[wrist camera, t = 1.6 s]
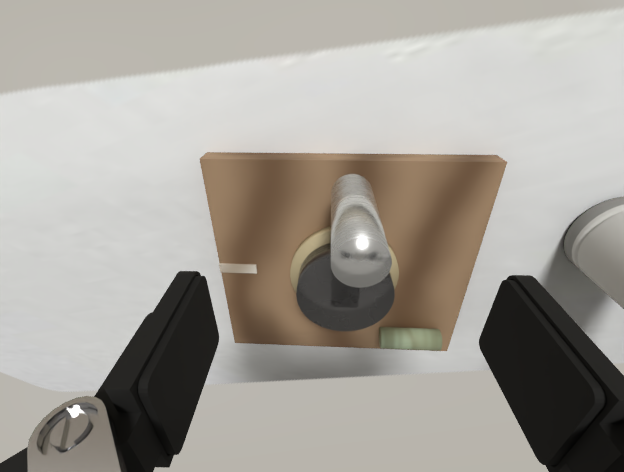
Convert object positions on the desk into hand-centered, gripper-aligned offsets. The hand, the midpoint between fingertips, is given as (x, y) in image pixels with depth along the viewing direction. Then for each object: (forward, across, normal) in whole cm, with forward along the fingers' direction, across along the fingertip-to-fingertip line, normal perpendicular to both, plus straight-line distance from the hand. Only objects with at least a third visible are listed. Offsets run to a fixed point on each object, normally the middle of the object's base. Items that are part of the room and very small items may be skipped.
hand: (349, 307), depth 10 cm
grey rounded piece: (+12, -1, +5) cm, 13 cm away
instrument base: (+14, -1, +8) cm, 16 cm away
